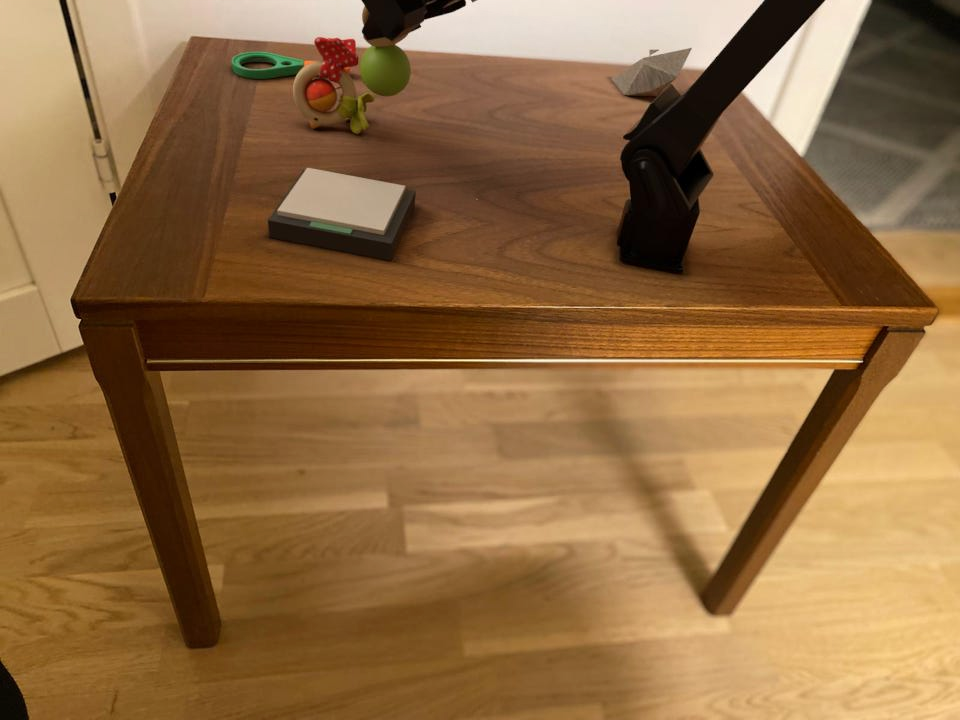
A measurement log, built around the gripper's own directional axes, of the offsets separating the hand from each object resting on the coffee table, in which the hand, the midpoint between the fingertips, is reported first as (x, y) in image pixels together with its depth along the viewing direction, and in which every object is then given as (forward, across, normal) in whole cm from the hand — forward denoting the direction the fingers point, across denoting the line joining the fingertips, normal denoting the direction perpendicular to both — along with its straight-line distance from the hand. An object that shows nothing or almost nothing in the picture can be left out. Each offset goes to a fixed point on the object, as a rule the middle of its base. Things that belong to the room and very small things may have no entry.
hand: (379, 29), depth 78 cm
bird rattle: (+14, 0, +5) cm, 15 cm away
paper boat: (-4, -40, +24) cm, 46 cm away
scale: (+5, +15, +14) cm, 21 cm away
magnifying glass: (+24, -9, -5) cm, 26 cm away
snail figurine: (+4, 0, +6) cm, 7 cm away
